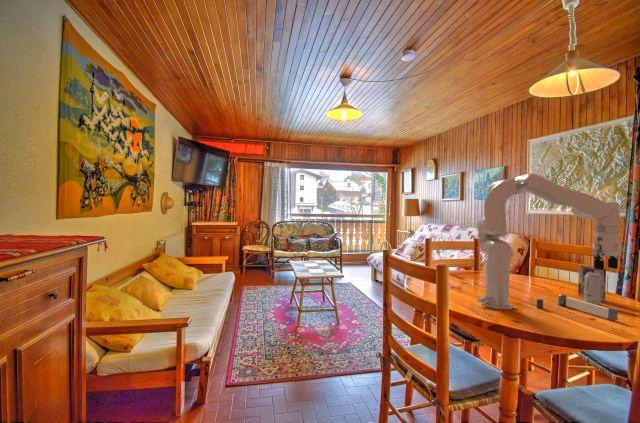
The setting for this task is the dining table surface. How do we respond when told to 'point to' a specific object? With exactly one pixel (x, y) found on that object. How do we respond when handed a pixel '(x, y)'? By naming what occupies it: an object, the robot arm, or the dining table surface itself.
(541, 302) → the stop post
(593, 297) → the energy drink can
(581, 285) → the coffee box
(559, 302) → the gate post
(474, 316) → the dining table surface
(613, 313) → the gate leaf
